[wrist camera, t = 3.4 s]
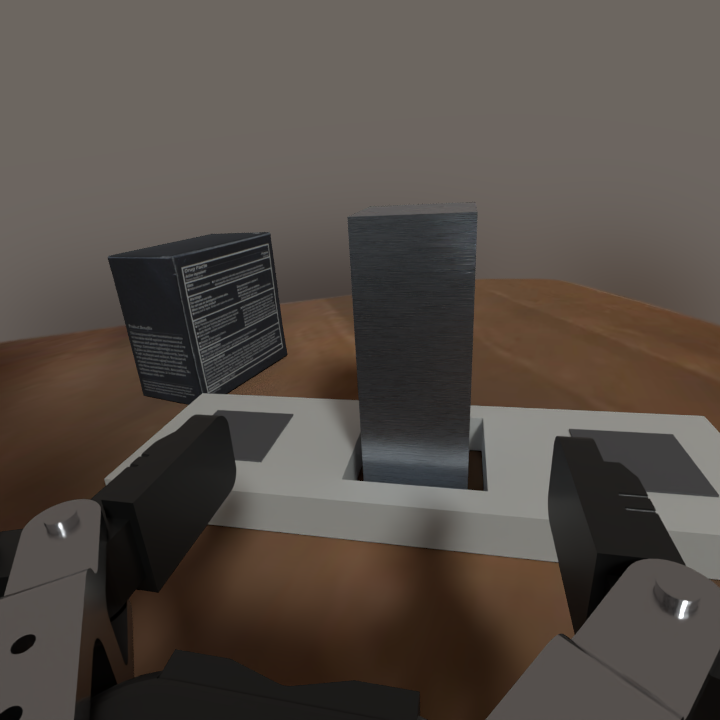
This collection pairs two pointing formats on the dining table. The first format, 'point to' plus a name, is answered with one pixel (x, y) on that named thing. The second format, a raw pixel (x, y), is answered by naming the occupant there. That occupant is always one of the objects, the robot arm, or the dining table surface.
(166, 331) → the small box
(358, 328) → the brushed metal pillar
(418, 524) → the white slotted plate
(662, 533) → the robot arm
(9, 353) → the dining table surface
